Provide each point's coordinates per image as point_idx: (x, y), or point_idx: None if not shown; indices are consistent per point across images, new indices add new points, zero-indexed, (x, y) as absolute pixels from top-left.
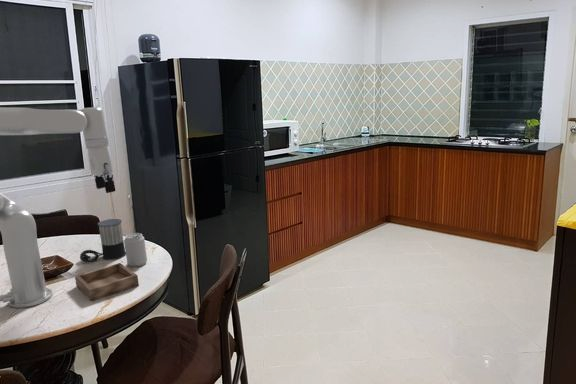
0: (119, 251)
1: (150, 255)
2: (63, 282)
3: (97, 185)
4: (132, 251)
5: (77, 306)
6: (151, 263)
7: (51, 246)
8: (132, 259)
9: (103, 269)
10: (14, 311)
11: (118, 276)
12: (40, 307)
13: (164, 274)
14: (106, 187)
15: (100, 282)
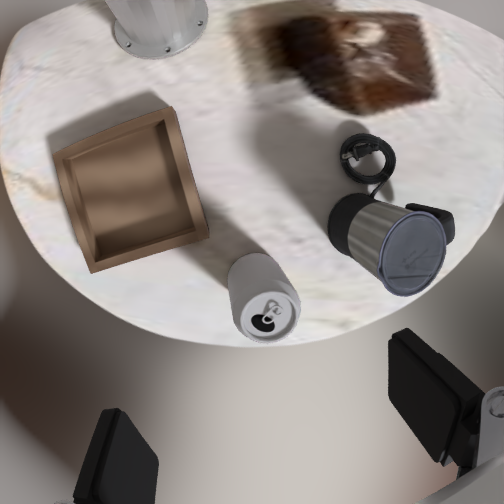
0: (339, 243)
1: None
2: (229, 80)
3: (406, 360)
4: (232, 286)
5: (59, 125)
6: None
7: (485, 103)
8: (232, 273)
9: (183, 187)
10: None
11: (165, 222)
12: (101, 47)
13: (142, 326)
14: (94, 453)
15: (147, 173)
